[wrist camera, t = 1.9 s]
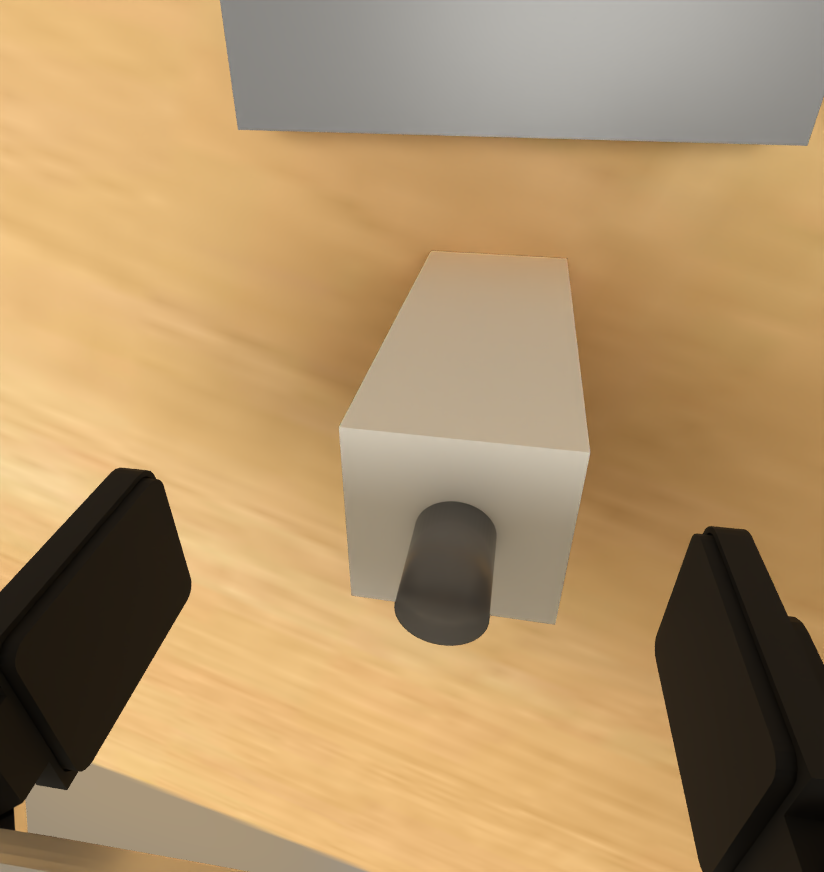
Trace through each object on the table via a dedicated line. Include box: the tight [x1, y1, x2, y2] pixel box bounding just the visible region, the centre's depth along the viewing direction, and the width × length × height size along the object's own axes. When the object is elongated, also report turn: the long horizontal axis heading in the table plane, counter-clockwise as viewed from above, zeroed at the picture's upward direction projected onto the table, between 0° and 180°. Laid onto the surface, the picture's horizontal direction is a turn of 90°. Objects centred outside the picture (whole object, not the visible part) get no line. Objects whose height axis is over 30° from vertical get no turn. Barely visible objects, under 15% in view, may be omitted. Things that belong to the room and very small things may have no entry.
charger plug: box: [339, 251, 590, 646], centre depth 15 cm, size 4×4×13 cm
